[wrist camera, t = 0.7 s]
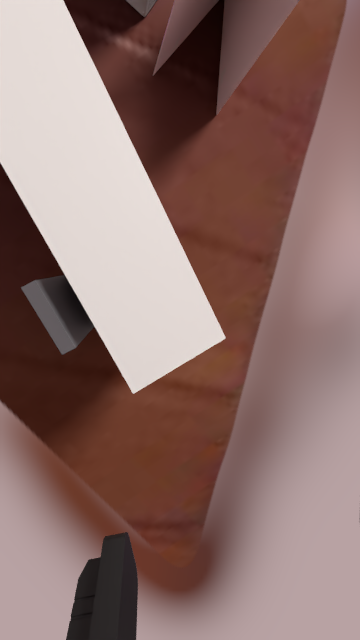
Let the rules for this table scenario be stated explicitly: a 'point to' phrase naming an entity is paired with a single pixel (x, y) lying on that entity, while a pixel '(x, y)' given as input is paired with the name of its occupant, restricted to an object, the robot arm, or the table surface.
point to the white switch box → (95, 197)
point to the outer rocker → (59, 311)
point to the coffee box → (142, 5)
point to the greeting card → (228, 34)
